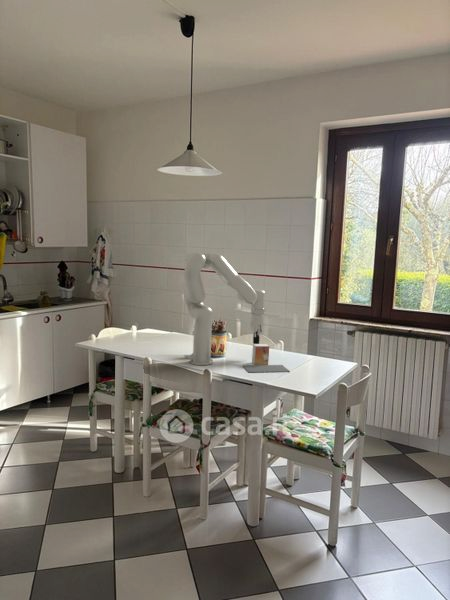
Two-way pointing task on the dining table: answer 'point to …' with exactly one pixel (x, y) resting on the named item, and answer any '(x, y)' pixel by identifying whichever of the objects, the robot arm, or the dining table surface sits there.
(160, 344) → the dining table surface
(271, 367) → the mat
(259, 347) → the small box
